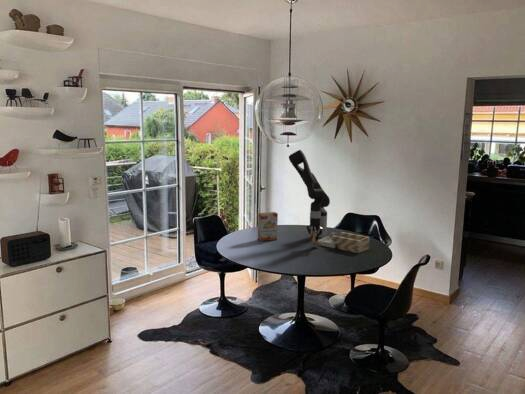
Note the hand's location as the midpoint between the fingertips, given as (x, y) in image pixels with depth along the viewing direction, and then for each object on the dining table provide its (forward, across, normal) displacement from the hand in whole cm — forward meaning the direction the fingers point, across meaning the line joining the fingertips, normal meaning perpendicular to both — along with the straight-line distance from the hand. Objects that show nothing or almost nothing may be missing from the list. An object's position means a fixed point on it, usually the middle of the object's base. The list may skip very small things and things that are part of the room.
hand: (314, 240), depth 320 cm
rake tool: (+4, 0, -1) cm, 4 cm away
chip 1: (-1, +5, +17) cm, 18 cm away
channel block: (+6, +19, +17) cm, 26 cm away
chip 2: (+3, +5, +17) cm, 18 cm away
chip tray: (+6, +4, +17) cm, 18 cm away
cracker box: (+6, -39, -5) cm, 40 cm away
